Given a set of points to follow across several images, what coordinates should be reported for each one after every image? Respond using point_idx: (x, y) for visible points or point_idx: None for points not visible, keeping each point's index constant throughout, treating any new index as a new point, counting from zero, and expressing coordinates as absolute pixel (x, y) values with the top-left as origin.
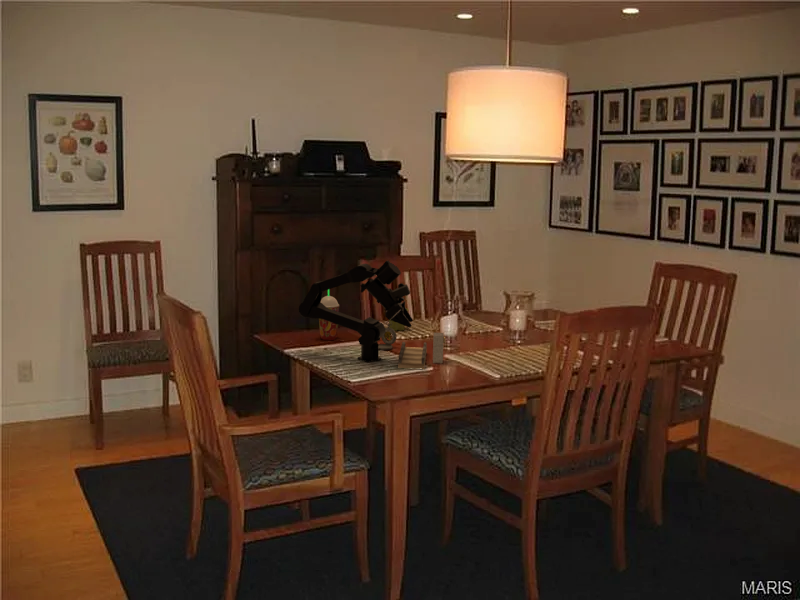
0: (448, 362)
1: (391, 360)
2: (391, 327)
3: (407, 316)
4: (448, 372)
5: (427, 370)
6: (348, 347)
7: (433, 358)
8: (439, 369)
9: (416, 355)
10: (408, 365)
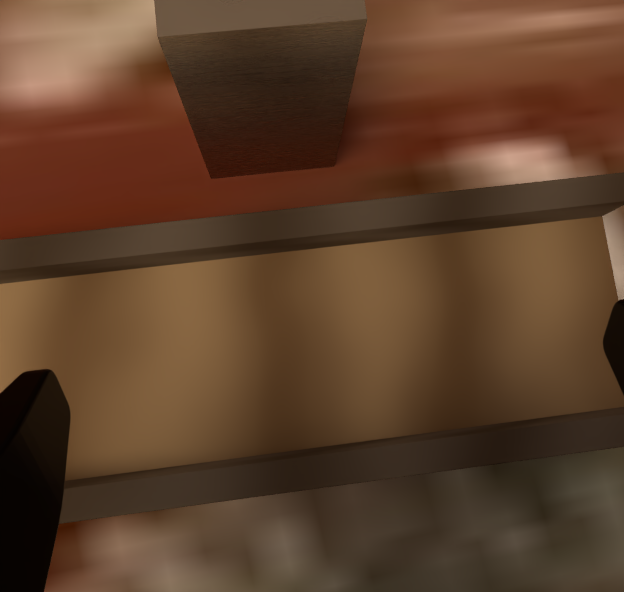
0: None
1: (331, 555)
2: None
3: (10, 525)
4: (592, 12)
5: None
6: None
7: (337, 145)
8: (523, 88)
9: (296, 312)
10: None
